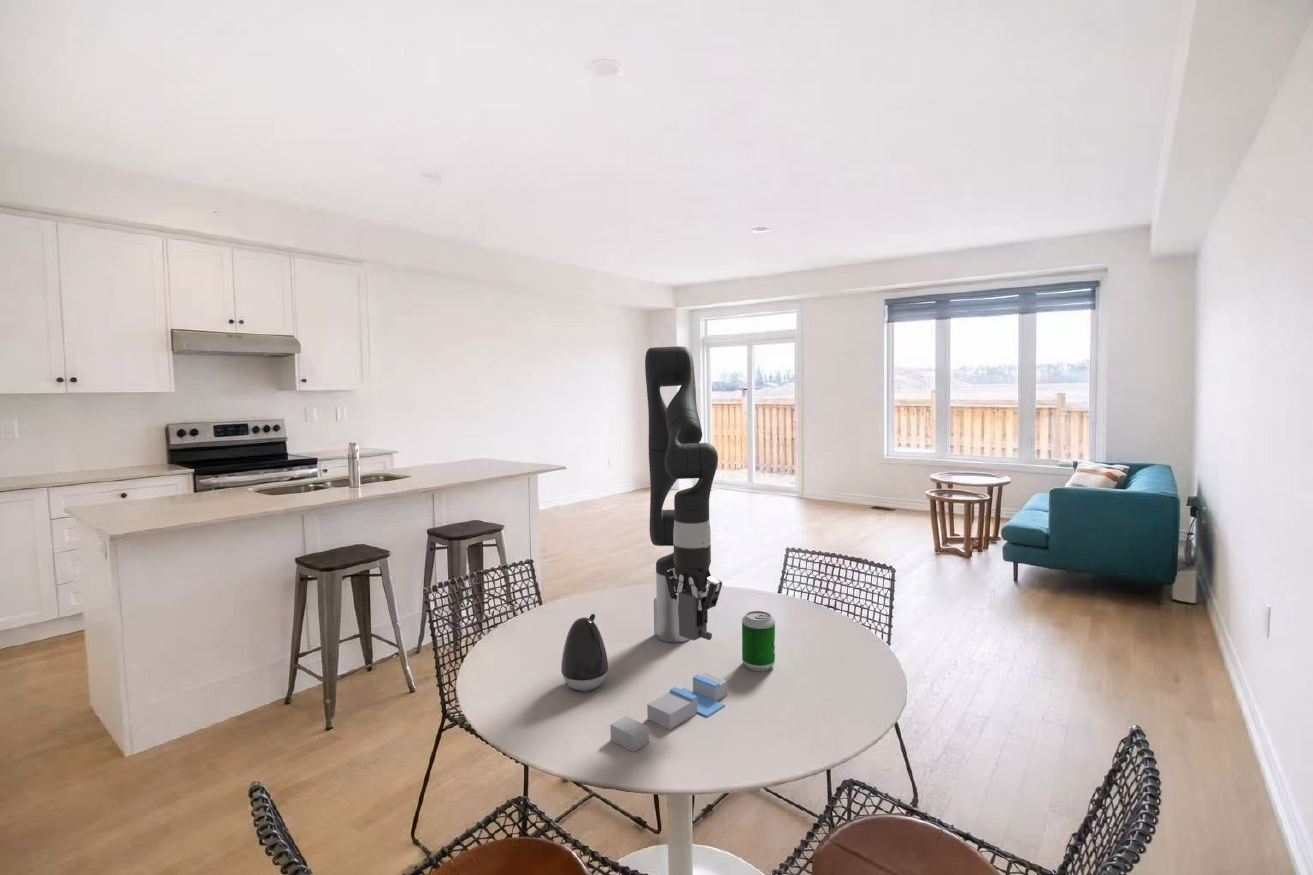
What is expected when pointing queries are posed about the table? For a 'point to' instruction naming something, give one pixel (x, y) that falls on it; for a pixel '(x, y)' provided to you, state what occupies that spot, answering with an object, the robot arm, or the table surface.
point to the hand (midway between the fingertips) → (692, 623)
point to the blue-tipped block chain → (672, 710)
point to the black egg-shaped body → (584, 656)
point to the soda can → (758, 640)
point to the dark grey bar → (690, 618)
